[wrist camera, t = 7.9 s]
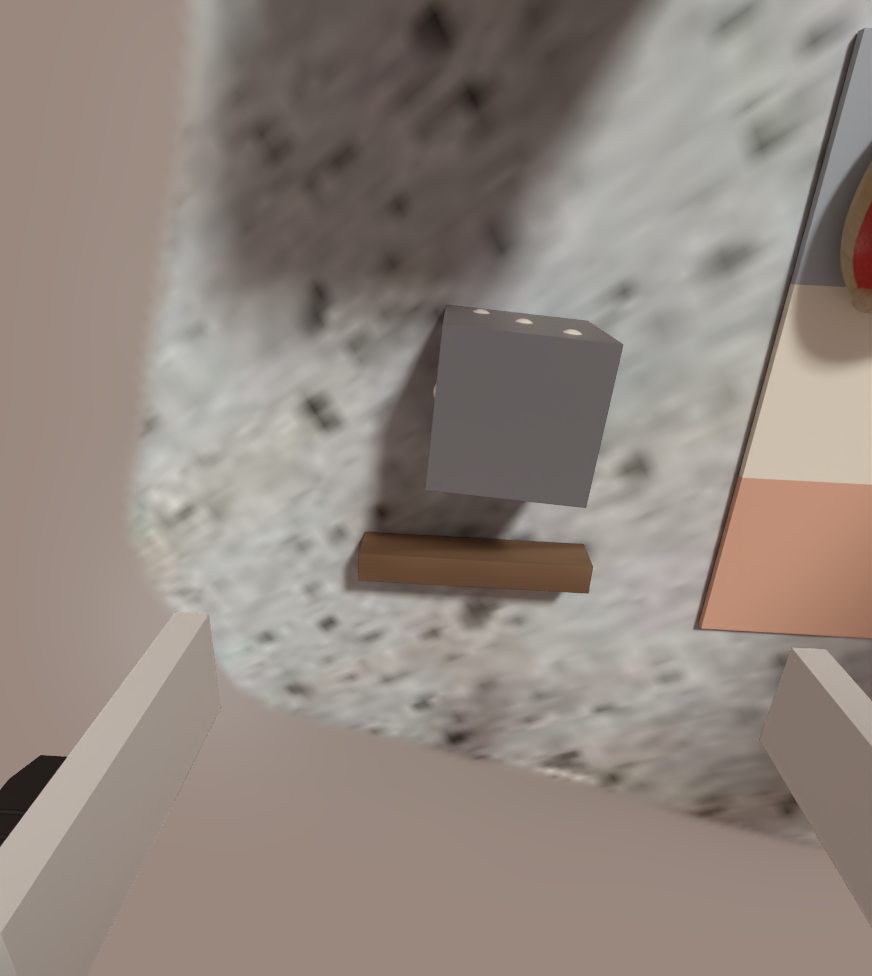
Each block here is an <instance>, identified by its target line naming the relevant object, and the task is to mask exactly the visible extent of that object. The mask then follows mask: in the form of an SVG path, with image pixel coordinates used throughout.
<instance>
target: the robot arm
mask: <svg viewBox="0 0 872 976" xmlns="http://www.w3.org/2000/svg"><path fill="white" fill-rule="evenodd" d="M220 709H221V704H220V697H219V689H218V681H217V673H216V666H215V658H214V650H213V642H212V635H211V627H210V619H209V614H199V613H181V612H175V613H174V615H173V616H172V617H171V619H170V620H169V621H168V623H167V624H166V626H165V627H164V628H163V629H162V631H161V632H160V633H159V635H158V636H157V638H156V639H155V640H154V641H153V643H152V644H151V645H150V647H149V648H148V649H147V651H146V652H145V654H144V655H143V656H142V658H141V659H140V660H139V662H138V663H137V664H136V666H135V667H134V668H133V670H132V671H131V672H130V674H129V675H128V676H127V678H126V679H125V680H124V682H123V683H122V684H121V686H120V687H119V688H118V690H117V691H116V692H115V694H114V695H113V696H112V698H111V699H110V700H109V702H108V703H107V705H106V706H105V707H104V709H103V710H102V711H101V713H100V714H99V715H98V717H97V718H96V719H95V721H94V722H93V723H92V725H91V726H90V727H89V729H88V730H87V731H86V733H85V734H84V735H83V737H82V738H81V739H80V741H79V742H78V743H77V745H76V746H75V747H74V749H73V750H72V751H71V753H70V754H69V755H68V757H61V756H45V755H40V756H39V757H38V758H36V759H35V760H34V761H32V762H31V763H30V764H29V765H27V766H26V767H25V768H23V769H22V770H20V771H19V772H18V773H17V774H15V775H14V776H13V777H11V778H10V779H9V780H8V781H7V782H6V784H5V785H4V786H3V787H2V788H1V790H0V976H88V973H89V972H90V970H91V967H92V965H93V964H94V962H95V960H96V958H97V956H98V953H99V952H100V949H101V947H102V946H103V943H104V942H105V940H106V938H107V936H108V933H109V931H110V930H111V927H112V925H113V923H114V921H115V919H116V917H117V915H118V913H119V911H120V909H121V907H122V905H123V903H124V901H125V899H126V897H127V895H128V893H129V891H130V889H131V887H132V885H133V883H134V881H135V879H136V877H137V875H138V873H139V871H140V869H141V867H142V865H143V863H144V861H145V859H146V857H147V855H148V853H149V851H150V849H151V847H152V845H153V843H154V841H155V839H156V837H157V835H158V833H159V831H160V829H161V827H162V825H163V823H164V821H165V819H166V817H167V815H168V813H169V811H170V809H171V807H172V805H173V803H174V801H175V799H176V797H177V795H178V793H179V791H180V789H181V787H182V784H183V783H184V781H185V779H186V777H187V775H188V773H189V770H190V769H191V767H192V765H193V763H194V761H195V758H196V757H197V755H198V753H199V751H200V749H201V747H202V745H203V743H204V741H205V738H206V737H207V735H208V733H209V731H210V729H211V727H212V725H213V723H214V721H215V719H216V717H217V715H218V713H219V711H220ZM759 740H760V742H761V743H762V745H763V747H764V748H765V750H766V752H767V753H768V755H769V757H770V758H771V760H772V762H773V763H774V765H775V767H776V768H777V770H778V772H779V773H780V775H781V777H782V778H783V780H784V782H785V783H786V785H787V787H788V788H789V790H790V792H791V793H792V795H793V797H794V798H795V800H796V802H797V803H798V805H799V807H800V808H801V810H802V812H803V813H804V815H805V817H806V818H807V820H808V822H809V823H810V825H811V827H812V828H813V830H814V832H815V833H816V835H817V837H818V838H819V840H820V842H821V843H822V845H823V847H824V849H825V850H826V852H827V854H828V855H829V857H830V859H831V860H832V862H833V864H834V865H835V867H836V869H837V870H838V872H839V874H840V875H841V877H842V879H843V880H844V882H845V883H846V885H847V887H848V889H849V890H850V892H851V893H852V895H853V897H854V899H855V900H856V902H857V904H858V905H859V907H860V909H861V910H862V912H863V913H864V915H865V917H866V919H867V920H868V922H869V923H870V925H871V927H872V701H871V699H870V698H869V697H868V696H867V695H866V694H865V693H864V692H863V690H862V689H861V688H860V687H859V686H858V685H857V684H856V683H855V681H854V680H853V679H852V678H851V677H850V676H849V675H848V674H847V672H846V671H845V670H844V669H843V668H842V667H841V666H840V665H839V663H838V662H837V661H836V660H835V659H834V658H833V657H832V656H831V654H830V653H829V652H828V651H827V650H826V649H810V648H791V651H790V653H789V656H788V659H787V662H786V665H785V668H784V671H783V673H782V676H781V679H780V682H779V685H778V688H777V690H776V693H775V696H774V699H773V702H772V705H771V708H770V710H769V713H768V716H767V719H766V722H765V725H764V727H763V730H762V733H761V736H760V739H759Z"/></svg>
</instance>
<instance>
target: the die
mask: <svg viewBox="0 0 872 976" xmlns="http://www.w3.org/2000/svg"><path fill="white" fill-rule="evenodd" d="M622 348H623V344H622V343H620V342H619V341H617V340H616V339H614V338H613V337H611V336H610V335H608V334H607V333H605V332H604V331H602V330H601V329H599V328H598V327H596V326H595V325H593V324H592V323H590V322H589V321H586V320H577V319H568V318H559V317H550V316H541V315H533V314H524V313H515V312H506V311H497V310H488V309H479V308H471V307H462V306H453V305H446V309H445V314H444V320H443V326H442V335H441V345H440V354H439V364H438V373H437V382H436V385H435V387H434V390H433V394H434V398H435V401H434V410H433V420H432V429H431V439H430V448H429V457H428V467H427V476H426V486H425V490H428V491H437V492H446V493H455V494H465V495H474V496H483V497H492V498H501V499H510V500H519V501H528V502H537V503H546V504H555V505H564V506H573V507H582V508H586V506H587V502H588V497H589V493H590V488H591V484H592V480H593V475H594V471H595V466H596V462H597V458H598V453H599V449H600V445H601V440H602V436H603V431H604V427H605V423H606V418H607V414H608V410H609V405H610V401H611V396H612V392H613V388H614V383H615V379H616V374H617V370H618V366H619V361H620V357H621V353H622Z"/></svg>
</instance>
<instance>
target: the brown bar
mask: <svg viewBox="0 0 872 976" xmlns="http://www.w3.org/2000/svg"><path fill="white" fill-rule="evenodd" d="M592 570H593V566H592V563H591V561H590V558H589V556H588V553H587V551H586V549H585V546H584V544H571V543H553V542H535V541H517V540H499V539H481V538H463V537H445V536H427V535H409V534H391V533H373V532H365V534H364V537H363V540H362V544H361V547H360V550H359V553H358V573H359V581H376V582H394V583H412V584H430V585H447V586H465V587H483V588H500V589H518V590H536V591H554V592H571V593H589V587H590V581H591V576H592Z"/></svg>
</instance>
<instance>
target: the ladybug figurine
mask: <svg viewBox="0 0 872 976" xmlns="http://www.w3.org/2000/svg"><path fill="white" fill-rule="evenodd" d="M840 263H841V271H842V275H843V279H844V282H845V284H846V287H847V289H848V291H849V292H850V294H851V296H852V304H853V306H854V307H855V308H856V309H857V310H858V311H860V312H863V313H867V314H868V313H872V161H871V163H870V165H869V167H868V168H867V170H866V172H865V174H864V176H863V178H862V180H861V182H860V184H859V186H858V188H857V191H856V193H855V196H854V198H853V200H852V203H851V205H850V208H849V211H848V214H847V217H846V219H845V224H844V228H843V233H842V239H841V248H840Z"/></svg>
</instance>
